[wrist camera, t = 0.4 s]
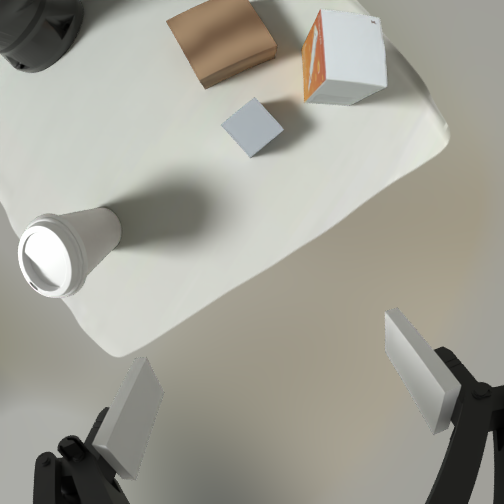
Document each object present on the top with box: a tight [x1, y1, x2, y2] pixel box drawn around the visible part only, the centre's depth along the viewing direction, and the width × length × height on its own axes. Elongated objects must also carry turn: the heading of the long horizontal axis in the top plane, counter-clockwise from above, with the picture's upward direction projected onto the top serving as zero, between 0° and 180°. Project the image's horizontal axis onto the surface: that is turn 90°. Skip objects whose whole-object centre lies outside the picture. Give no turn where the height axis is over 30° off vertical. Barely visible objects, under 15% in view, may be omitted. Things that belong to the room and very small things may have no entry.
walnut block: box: [166, 0, 277, 89], centre depth 31 cm, size 10×10×5 cm
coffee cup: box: [18, 207, 122, 298], centre depth 33 cm, size 10×10×15 cm
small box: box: [301, 9, 388, 106], centre depth 28 cm, size 8×6×13 cm
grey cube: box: [221, 97, 284, 158], centre depth 35 cm, size 5×5×5 cm
